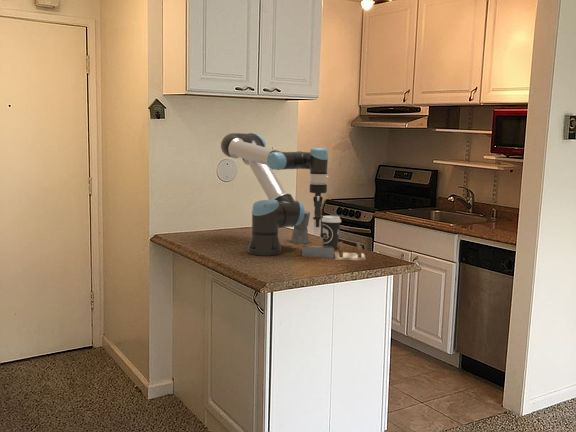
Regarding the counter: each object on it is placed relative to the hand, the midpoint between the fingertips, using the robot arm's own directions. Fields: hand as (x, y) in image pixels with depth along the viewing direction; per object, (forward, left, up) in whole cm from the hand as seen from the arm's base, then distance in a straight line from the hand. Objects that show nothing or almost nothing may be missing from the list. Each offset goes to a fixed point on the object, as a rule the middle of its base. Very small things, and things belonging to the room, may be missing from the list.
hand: (317, 232), depth 272 cm
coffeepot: (-8, +34, -11) cm, 37 cm away
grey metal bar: (0, 0, -11) cm, 11 cm away
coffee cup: (+7, +20, -11) cm, 24 cm away
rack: (+15, 0, -11) cm, 18 cm away
